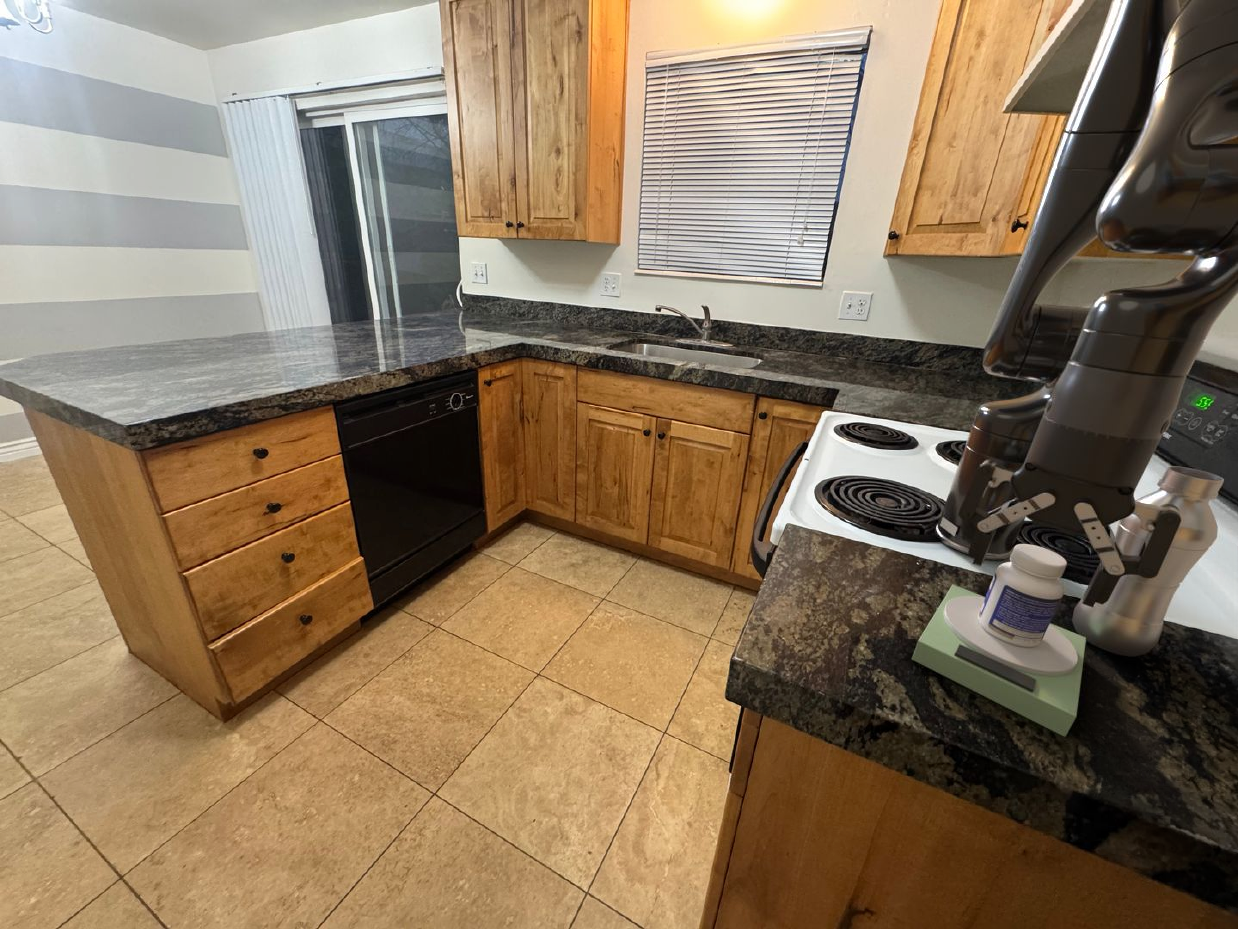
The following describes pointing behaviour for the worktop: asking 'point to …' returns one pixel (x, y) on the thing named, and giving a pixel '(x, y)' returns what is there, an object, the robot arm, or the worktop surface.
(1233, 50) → the robot arm
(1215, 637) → the worktop surface
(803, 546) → the worktop surface
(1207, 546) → the silver metal bottle
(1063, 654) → the kitchen scale
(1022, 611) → the pill bottle
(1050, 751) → the worktop surface
